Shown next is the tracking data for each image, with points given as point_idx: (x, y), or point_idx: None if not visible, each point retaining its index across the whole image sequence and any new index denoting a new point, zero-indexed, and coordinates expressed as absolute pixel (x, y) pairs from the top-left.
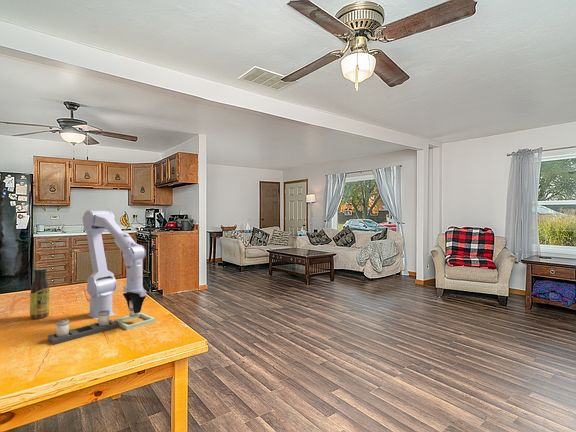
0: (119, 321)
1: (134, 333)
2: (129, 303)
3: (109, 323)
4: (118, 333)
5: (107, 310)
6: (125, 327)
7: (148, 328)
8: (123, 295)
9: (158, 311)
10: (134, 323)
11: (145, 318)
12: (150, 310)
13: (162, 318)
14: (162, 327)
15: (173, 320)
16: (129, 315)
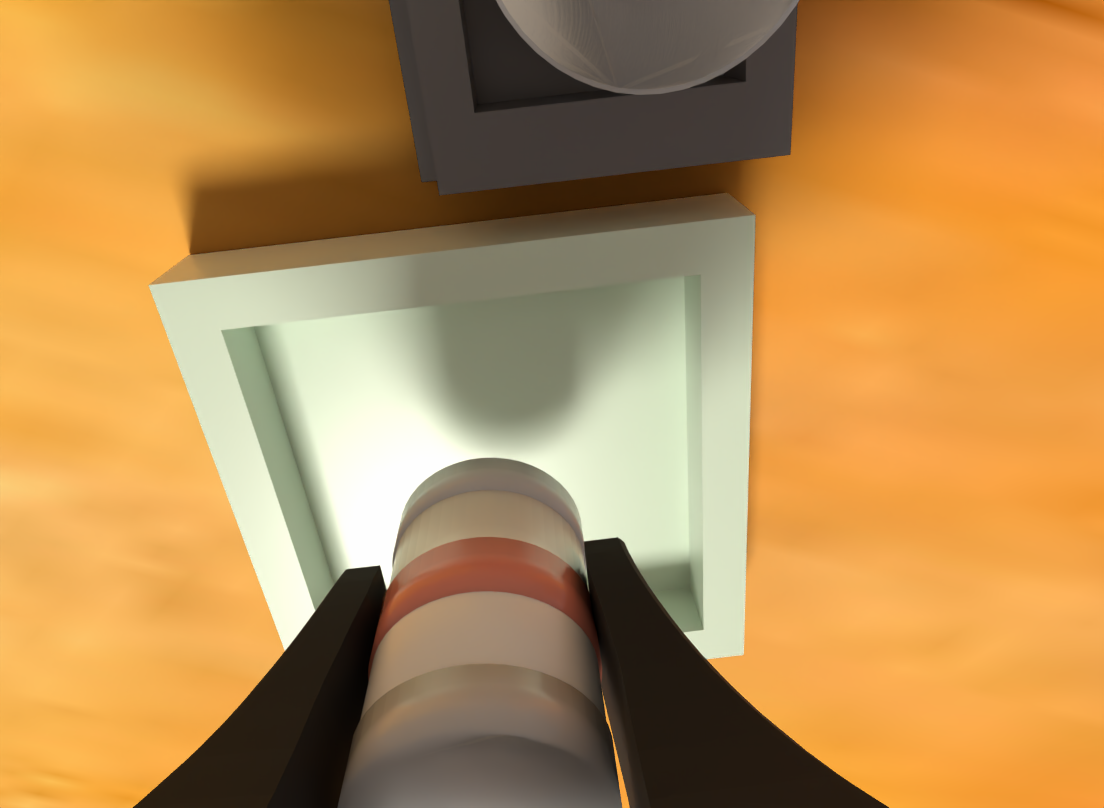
0: (553, 266)
1: (31, 324)
2: (473, 676)
3: None
4: (176, 112)
5: (719, 55)
6: (220, 268)
7: (160, 533)
8: (882, 803)
9: None
10: (253, 434)
11: None
12: (894, 738)
13: None
14: (99, 662)
15: None
16: (494, 471)
